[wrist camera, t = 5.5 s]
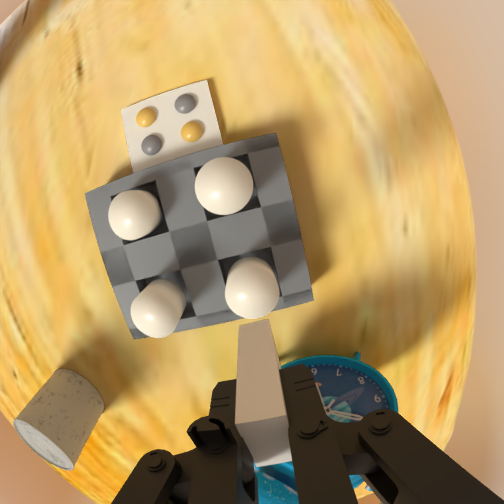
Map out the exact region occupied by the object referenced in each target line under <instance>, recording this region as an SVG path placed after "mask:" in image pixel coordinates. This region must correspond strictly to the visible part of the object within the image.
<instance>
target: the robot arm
mask: <svg viewBox="0 0 504 504" xmlns="http://www.w3.org/2000/svg"><path fill="white" fill-rule="evenodd" d="M211 400H212V401H211V405H210V407H211V408H210V412H209V416H205V417H201V418H200V419H198V420H196V421H194V422H193V423H192V424H191V425H190V426H189V428H188V430H187V433H188V435H189V436H190V438H191V439H192V441H193V442H194V444H195V445H196V448H195V449H193V450H190V451H188V452H184V453H181V454H177V455H174V456H173V455H172V454H171V453H170V452H168V451H166V450H161V449H157V450H153V451H150V452H148V453H146V454H145V455H144V456H143V457H142V458H141V459H140V460H139V462H138V463H137V465H136V466H135V468H134V470H133V471H132V473H131V474H130V476H129V477H128V479H127V480H126V482H125V483H124V485H123V486H122V488H121V489H120V491H119V492H118V494H117V496H116V497H115V499H114V500H113V502H112V503H111V504H259V496H258V479H257V476H256V474H255V472H254V463H255V465H256V467H260V466H267V465H273V464H279V463H284V462H289V461H292V463H293V469H294V475H295V481H296V487H297V494H298V500H299V504H358V502H357V498H356V495H355V492H354V489H353V486H352V483H351V480H350V477H349V475H360V476H361V477H362V479H363V480H364V481H365V482H366V484H367V485H368V486H369V487H370V489H371V490H372V491H373V492H374V493H375V494H376V496H377V497H378V498H379V499H380V501H381V502H382V503H383V504H504V500H502V499H501V498H500V497H498V496H497V495H496V494H495V493H493V492H492V491H491V490H490V489H488V488H487V487H486V486H484V485H483V484H482V483H481V482H480V481H478V480H477V479H476V478H474V477H473V476H472V475H471V474H469V473H468V472H467V471H466V470H465V469H464V468H462V467H461V466H460V465H459V464H457V463H456V462H455V461H454V460H452V459H451V458H450V457H449V456H448V455H447V454H445V453H444V452H443V451H442V450H441V449H439V448H438V447H437V446H436V445H435V444H433V443H432V442H431V441H430V440H429V439H428V438H426V437H425V436H424V435H423V434H422V433H421V432H419V431H418V430H417V429H416V428H415V427H414V426H412V425H411V424H410V423H409V422H408V421H407V420H405V419H404V418H403V417H402V416H401V415H400V414H399V413H397V412H395V411H393V410H390V409H378V410H374V411H372V412H370V413H368V414H367V415H365V416H364V417H363V418H362V420H361V421H360V422H338V421H335V420H333V419H331V418H330V417H329V416H328V415H327V414H326V412H325V410H324V407H323V404H322V401H321V398H320V395H319V392H318V390H317V387H316V384H315V381H314V378H313V375H312V372H311V370H310V369H309V368H308V367H307V366H305V365H304V364H299V365H295V366H291V367H287V368H283V369H281V366H280V361H279V357H278V353H277V349H276V346H275V342H274V338H273V334H272V330H271V326H270V322H269V319H266V320H262V321H257V322H253V323H249V324H244V325H240V326H239V338H238V360H237V379H234V380H228V381H222V382H218V384H217V385H216V387H215V388H214V389H213V392H212V398H211Z"/></svg>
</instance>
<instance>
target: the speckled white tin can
mask: <svg viewBox="0 0 504 504" xmlns="http://www.w3.org/2000/svg"><path fill="white" fill-rule="evenodd" d="M103 411H104V403H103V400H102V398H101V396H100V394H99V393H98V391H97V390H96V389H95V388H94V387H93V385H92V384H91V383H89V382H88V381H87V380H86V379H85V378H83V377H82V376H81V375H79V374H77V373H75V372H74V371H71V370H68V369H58V370H56V371H55V372H54V374H53V375H52V376H51V377H50V379H49V380H48V381H47V382H46V383H45V384H44V385H43V387H42V388H41V389H40V390H39V391H38V392H37V394H36V395H35V396H34V397H33V398H32V399H31V401H30V402H29V403H28V404H27V405H26V407H25V408H24V409H23V410H22V412H21V413H20V414H19V415H18V417H17V418H16V419H14V421H13V424H14V427H15V429H16V431H17V433H18V434H19V436H20V437H21V438H22V440H23V441H24V442H25V443H26V444H27V445H28V446H29V447H30V448H31V449H32V450H33V451H34V452H36V453H37V454H38V455H39V456H40V457H42V458H43V459H45V460H46V461H48V462H49V463H51V464H53V465H55V466H56V467H59V468H61V469H64V470H73V469H74V465H75V463H76V461H77V459H78V457H79V455H80V453H81V451H82V449H83V447H84V446H85V444H86V442H87V440H88V438H89V436H90V434H91V432H92V430H93V429H94V427H95V425H96V423H97V421H98V419H99V418H100V416H101V414H102V413H103Z"/></svg>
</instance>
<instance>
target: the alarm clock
mask: <svg viewBox="0 0 504 504" xmlns="http://www.w3.org/2000/svg"><path fill="white" fill-rule="evenodd" d="M299 364H304V365H305V366H307V367H308V368H309V369H310V370H311V372H312V375H313V378H314V381H315V384H316V387H317V390H318V392H319V395H320V398H321V401H322V404H323V407H324V410H325V412H326V414H327V415H328V416H329V417H330V418H331V419H333V420H335V421H338V422H360V421H361V420H362V418H363V417H364V416H365V415H367V414H368V413H370V412H372V411H374V410H378V409H390V410H393V411H395V412H397V413H398V403H397V398H396V395H395V393H394V390H393V388H392V386H391V385H390V383H389V382H388V380H387V379H386V378H385V377H384V376H383V375H382V374H381V373H380V372H379V371H377V370H376V369H374V368H373V367H371V366H370V365H368V364H365V363H363V362H361V361H360V353H359V352H357V353H356V354H355V356H354V358H353V359H352V358H349V357H343V356H337V355H318V356H309V357H305V358H300V359H297V360H295V361H292V362H289V363H287V364H285V365H283V366H281V369H283V368H287V367H291V366H295V365H299ZM254 467H255V469H256V470H255V469H254V472H255V474H256V476H257V479H258V496H259V504H299V500H298V494H297V487H296V481H295V475H294V469H293V463H292V461H289V462H284V463H279V464H273V465H267V466H260V467H256V465H255V463H254ZM349 477H350V480H351V483H352V486H353V489H354V488H356V487H358V486H359V485H360V484H361V483H362V482H364V480H363V479H362V477H361V476H360V475H349ZM365 489H367V490H370V491H372V490H371V489H370V487H369V486H368V485H367V486H366V487H365ZM380 504H383V503H382V502H381V503H380Z"/></svg>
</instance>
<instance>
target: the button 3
mask: <svg viewBox="0 0 504 504" xmlns="http://www.w3.org/2000/svg"><path fill="white" fill-rule="evenodd" d="M252 192H253V179H252V176H251V173H250V171H249V170H248V168H247V167H246V166H245V165H244V164H243V163H241V162H240V161H238V160H236V159H233V158H229V157H219V158H215V159H213V160H211V161H209V162H207V163H206V164H205V165H204V166H203V167H202V168H201V169H200V171H199V172H198V174H197V177H196V180H195V193H196V196H197V199H198V201H199V202H200V204H201V205H202V206H203V207H204V208H205V209H207V210H208V211H210V212H212V213H215V214H219V215H228V214H233V213H235V212H237V211H239V210H241V209H242V208H243V207H244V206H245V205H246V204H247V203H248V201H249V200H250V198H251V195H252Z"/></svg>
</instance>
